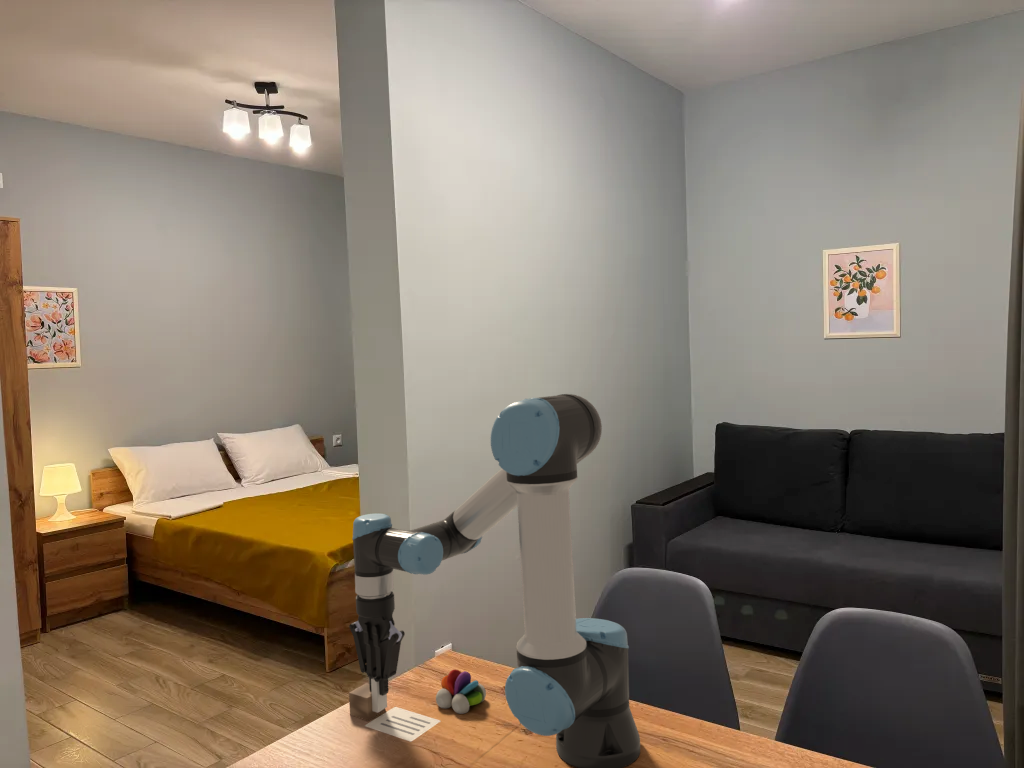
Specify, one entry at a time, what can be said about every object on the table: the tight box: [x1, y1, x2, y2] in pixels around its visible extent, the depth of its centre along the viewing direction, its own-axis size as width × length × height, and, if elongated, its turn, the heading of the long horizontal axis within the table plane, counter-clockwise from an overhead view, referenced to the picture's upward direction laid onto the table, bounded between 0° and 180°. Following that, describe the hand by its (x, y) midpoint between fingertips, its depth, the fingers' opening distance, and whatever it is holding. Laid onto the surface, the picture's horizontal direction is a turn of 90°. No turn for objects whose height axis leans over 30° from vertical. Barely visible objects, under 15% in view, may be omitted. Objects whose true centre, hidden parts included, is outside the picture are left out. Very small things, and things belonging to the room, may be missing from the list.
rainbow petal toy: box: [435, 668, 487, 715], centre depth 155 cm, size 8×10×7 cm
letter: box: [364, 706, 441, 742], centre depth 148 cm, size 12×9×1 cm
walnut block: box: [348, 682, 386, 722], centre depth 152 cm, size 5×5×5 cm
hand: (379, 708), depth 151 cm, fingers closed
